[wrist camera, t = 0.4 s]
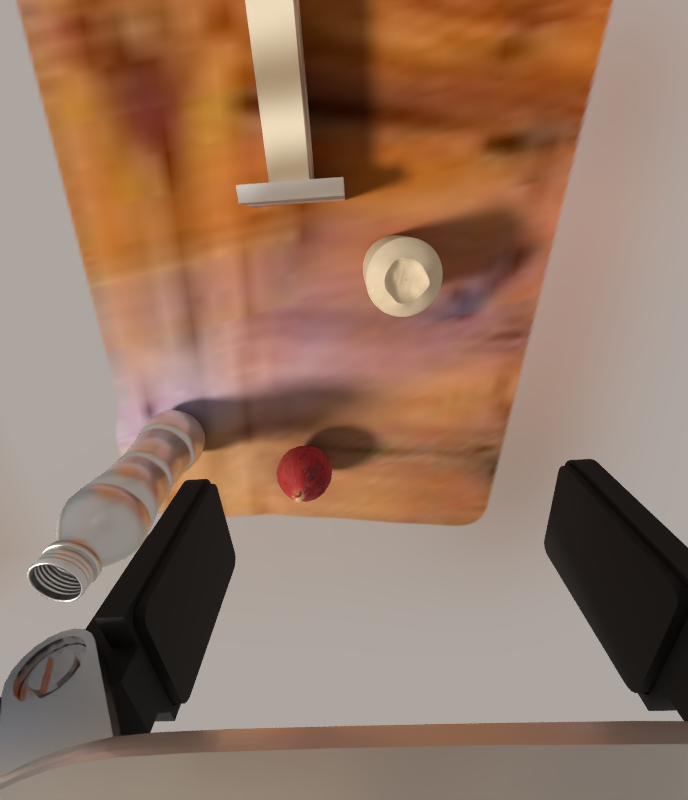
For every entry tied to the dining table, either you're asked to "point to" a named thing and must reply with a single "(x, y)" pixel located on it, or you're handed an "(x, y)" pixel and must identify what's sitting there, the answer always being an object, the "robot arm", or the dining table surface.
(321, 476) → the onion
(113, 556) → the plastic bottle
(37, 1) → the dining table surface
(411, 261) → the candle
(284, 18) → the cream upright plaque
